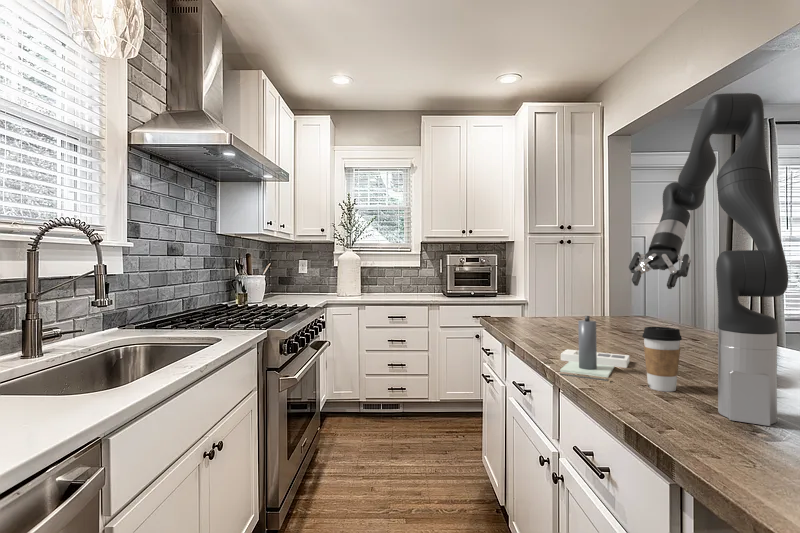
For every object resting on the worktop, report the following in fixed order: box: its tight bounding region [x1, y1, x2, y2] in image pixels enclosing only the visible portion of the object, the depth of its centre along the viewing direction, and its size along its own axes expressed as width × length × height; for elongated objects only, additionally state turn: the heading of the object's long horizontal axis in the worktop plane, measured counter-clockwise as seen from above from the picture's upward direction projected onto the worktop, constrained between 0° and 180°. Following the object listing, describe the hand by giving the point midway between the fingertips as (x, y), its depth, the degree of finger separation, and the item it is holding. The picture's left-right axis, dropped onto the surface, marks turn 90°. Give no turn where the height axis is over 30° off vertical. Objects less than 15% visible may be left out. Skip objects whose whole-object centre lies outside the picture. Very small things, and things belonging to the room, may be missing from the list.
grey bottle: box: [577, 315, 598, 370], centre depth 122 cm, size 5×5×14 cm
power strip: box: [560, 348, 630, 369], centre depth 130 cm, size 8×24×3 cm, turn 57°
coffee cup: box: [642, 326, 683, 393], centre depth 107 cm, size 8×8×15 cm
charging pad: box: [559, 361, 615, 382], centre depth 122 cm, size 12×12×2 cm
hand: (651, 285), depth 119 cm, fingers open, 8 cm apart
